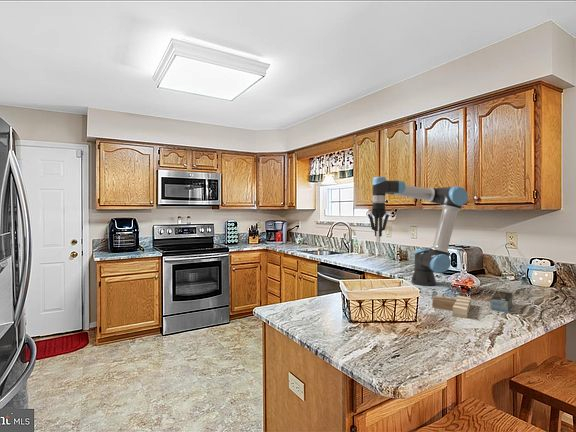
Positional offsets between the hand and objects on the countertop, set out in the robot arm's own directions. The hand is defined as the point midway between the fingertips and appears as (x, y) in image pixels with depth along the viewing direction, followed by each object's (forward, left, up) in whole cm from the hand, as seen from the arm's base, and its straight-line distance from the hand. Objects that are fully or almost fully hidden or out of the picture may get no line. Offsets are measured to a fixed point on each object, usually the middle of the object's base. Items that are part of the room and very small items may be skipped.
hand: (378, 241), depth 203 cm
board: (+15, +47, -29) cm, 57 cm away
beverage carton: (-2, +64, -30) cm, 70 cm away
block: (+15, +39, -30) cm, 51 cm away
